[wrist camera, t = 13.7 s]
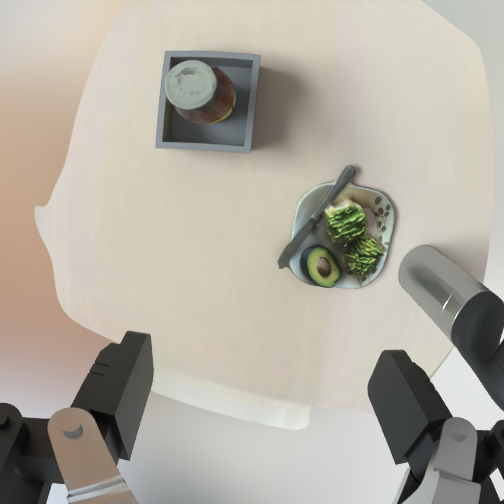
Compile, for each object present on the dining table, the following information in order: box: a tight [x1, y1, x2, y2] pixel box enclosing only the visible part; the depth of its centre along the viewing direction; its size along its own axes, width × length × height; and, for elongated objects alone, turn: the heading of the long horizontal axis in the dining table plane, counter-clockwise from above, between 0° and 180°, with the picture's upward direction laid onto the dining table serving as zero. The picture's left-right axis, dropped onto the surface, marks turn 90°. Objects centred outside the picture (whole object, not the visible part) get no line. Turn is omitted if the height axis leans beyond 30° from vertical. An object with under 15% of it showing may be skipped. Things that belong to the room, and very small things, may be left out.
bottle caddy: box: [156, 51, 261, 154], centre depth 36 cm, size 12×13×6 cm
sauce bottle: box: [164, 60, 236, 124], centre depth 29 cm, size 7×6×20 cm
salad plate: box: [278, 165, 395, 288], centre depth 45 cm, size 19×18×5 cm
